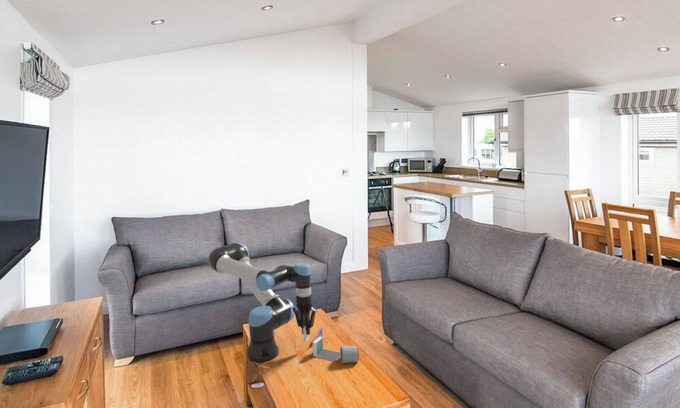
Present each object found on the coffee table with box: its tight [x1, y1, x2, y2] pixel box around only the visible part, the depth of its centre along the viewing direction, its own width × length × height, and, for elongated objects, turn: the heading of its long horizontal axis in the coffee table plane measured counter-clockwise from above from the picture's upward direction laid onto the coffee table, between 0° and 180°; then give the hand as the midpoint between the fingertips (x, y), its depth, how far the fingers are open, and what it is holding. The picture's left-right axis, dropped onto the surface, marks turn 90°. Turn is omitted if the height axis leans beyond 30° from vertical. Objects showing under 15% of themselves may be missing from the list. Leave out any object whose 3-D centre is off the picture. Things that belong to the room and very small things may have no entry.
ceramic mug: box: [339, 345, 360, 365], centre depth 202 cm, size 11×8×8 cm
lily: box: [310, 324, 328, 344], centre depth 220 cm, size 12×12×10 cm
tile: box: [312, 336, 324, 357], centre depth 208 cm, size 2×7×7 cm, turn 154°
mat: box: [308, 348, 341, 363], centre depth 207 cm, size 14×9×1 cm, turn 64°
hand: (306, 340), depth 211 cm, fingers closed
